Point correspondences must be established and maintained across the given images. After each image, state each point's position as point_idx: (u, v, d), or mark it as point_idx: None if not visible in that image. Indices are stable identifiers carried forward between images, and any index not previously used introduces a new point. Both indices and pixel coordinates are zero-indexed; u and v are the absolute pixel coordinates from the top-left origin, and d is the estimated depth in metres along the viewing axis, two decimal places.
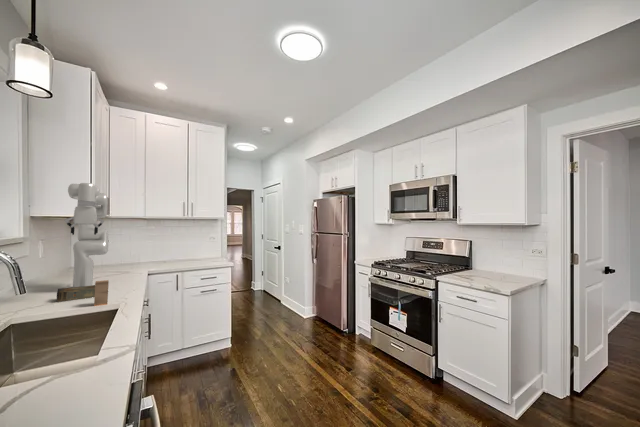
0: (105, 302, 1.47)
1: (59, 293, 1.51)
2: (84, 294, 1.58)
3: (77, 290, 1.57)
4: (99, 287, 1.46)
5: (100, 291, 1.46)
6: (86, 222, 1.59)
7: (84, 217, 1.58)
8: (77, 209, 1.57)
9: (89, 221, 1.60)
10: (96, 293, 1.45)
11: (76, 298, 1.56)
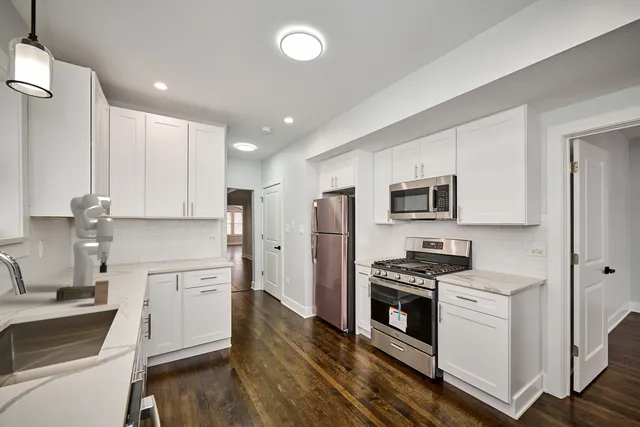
0: (105, 302, 1.47)
1: (57, 292, 1.53)
2: (81, 294, 1.58)
3: (74, 290, 1.57)
4: (99, 287, 1.46)
5: (100, 291, 1.46)
6: None
7: None
8: (109, 245, 1.56)
9: None
10: (96, 293, 1.45)
11: (73, 298, 1.56)
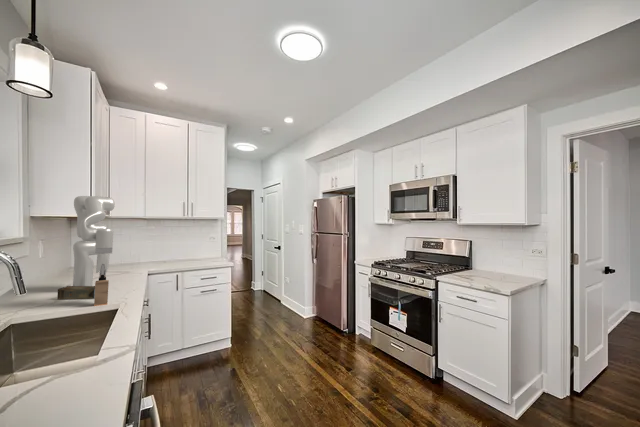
0: (105, 302, 1.47)
1: (58, 291, 1.56)
2: (78, 294, 1.57)
3: (73, 290, 1.57)
4: (99, 287, 1.46)
5: (100, 291, 1.46)
6: None
7: None
8: (108, 257, 1.52)
9: None
10: (96, 293, 1.45)
11: (72, 298, 1.57)
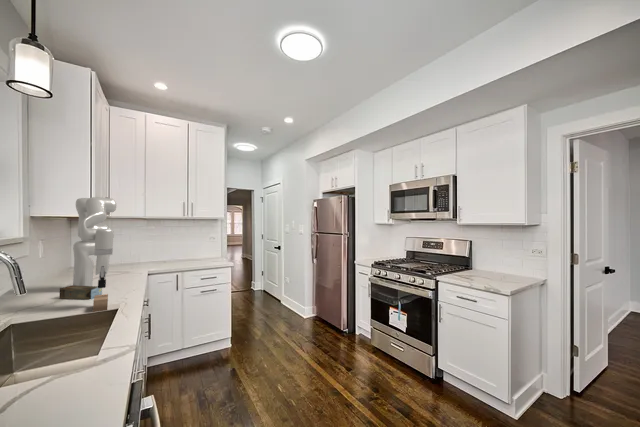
0: None
1: (60, 290, 1.58)
2: (77, 294, 1.57)
3: (72, 289, 1.58)
4: None
5: None
6: None
7: (108, 266, 1.48)
8: (108, 258, 1.45)
9: None
10: None
11: (71, 297, 1.57)
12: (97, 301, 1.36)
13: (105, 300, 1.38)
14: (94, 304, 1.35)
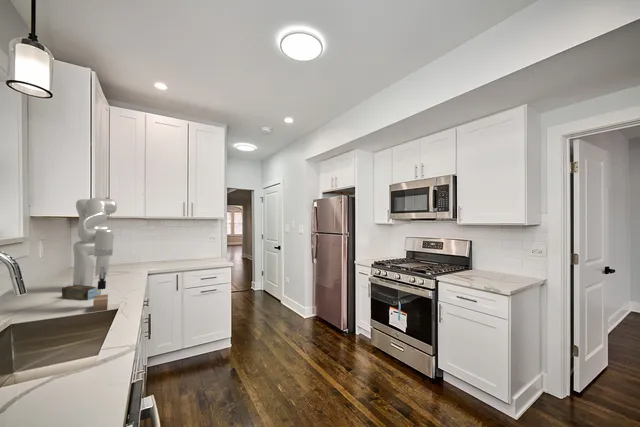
0: None
1: (62, 289, 1.60)
2: (76, 294, 1.57)
3: (72, 289, 1.58)
4: None
5: None
6: None
7: (108, 267, 1.46)
8: (108, 259, 1.43)
9: None
10: None
11: (71, 297, 1.58)
12: (97, 301, 1.36)
13: (105, 300, 1.38)
14: (94, 304, 1.35)
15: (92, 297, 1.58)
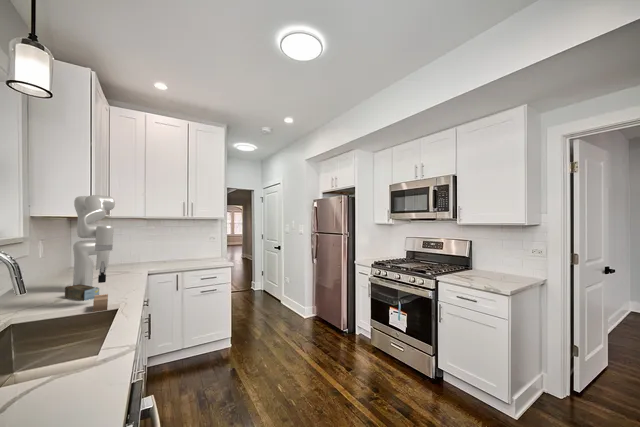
0: None
1: (65, 289, 1.62)
2: (75, 294, 1.57)
3: (72, 289, 1.59)
4: None
5: None
6: None
7: (108, 262, 1.52)
8: (108, 254, 1.50)
9: None
10: None
11: (72, 297, 1.59)
12: (97, 301, 1.36)
13: (105, 300, 1.38)
14: (94, 304, 1.35)
15: (89, 298, 1.57)
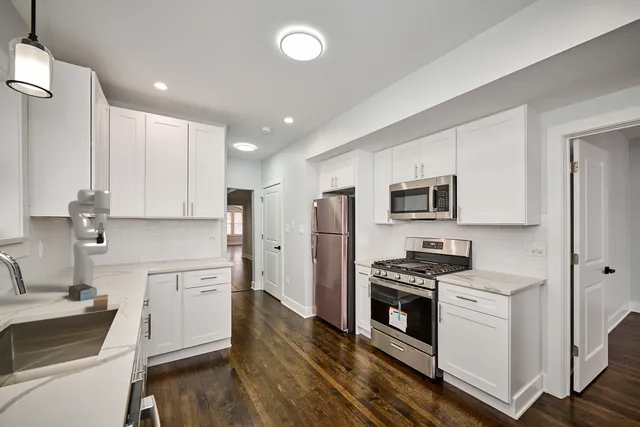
0: None
1: (69, 288, 1.64)
2: (74, 294, 1.58)
3: (73, 289, 1.60)
4: None
5: None
6: None
7: None
8: (105, 217, 1.59)
9: None
10: None
11: (72, 296, 1.60)
12: (97, 301, 1.36)
13: (105, 300, 1.38)
14: (94, 304, 1.35)
15: (86, 298, 1.56)
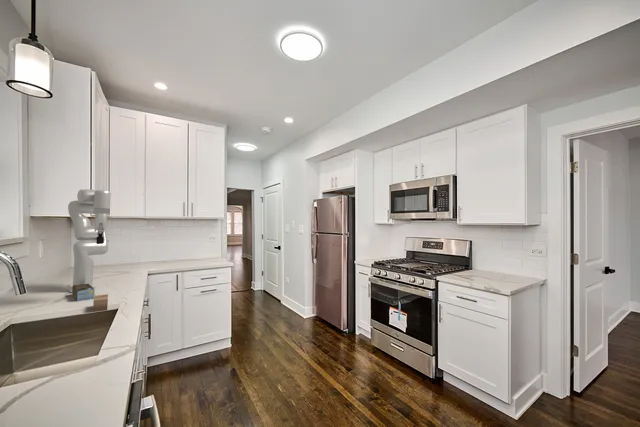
0: None
1: (72, 287, 1.65)
2: (74, 294, 1.58)
3: (74, 288, 1.60)
4: None
5: None
6: None
7: None
8: (105, 217, 1.59)
9: None
10: None
11: (73, 296, 1.60)
12: (97, 301, 1.36)
13: (105, 300, 1.38)
14: (94, 304, 1.35)
15: (83, 299, 1.55)
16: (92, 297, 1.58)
